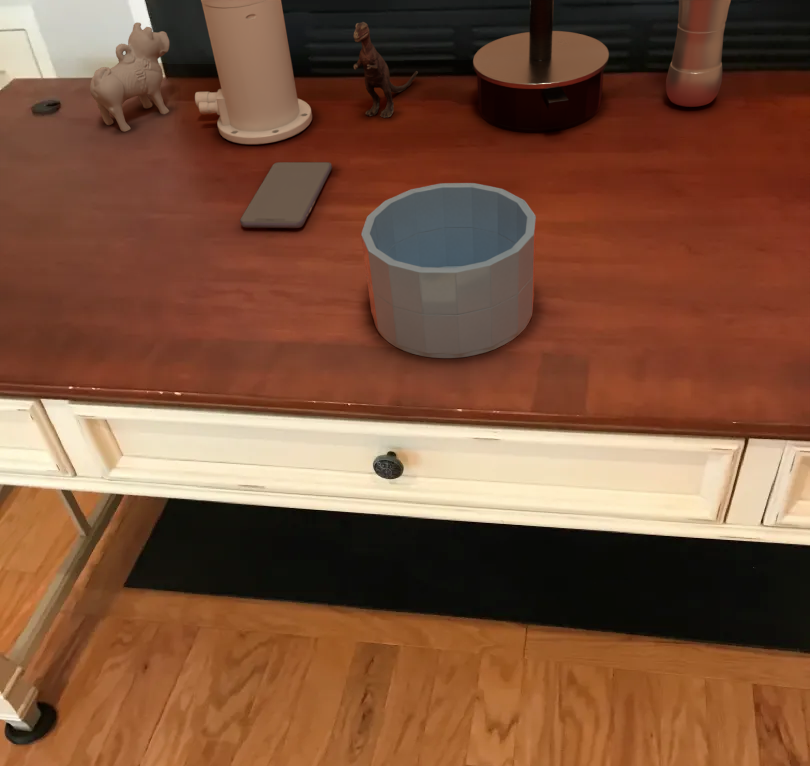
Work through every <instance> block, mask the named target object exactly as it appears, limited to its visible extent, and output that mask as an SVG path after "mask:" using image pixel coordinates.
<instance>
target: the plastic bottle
mask: <svg viewBox="0 0 810 766" xmlns="http://www.w3.org/2000/svg"><path fill="white" fill-rule="evenodd" d="M731 1H732V0H678V15H677V16H678V18H677V22H678V23H677V30H676V38H675V43H674V48H673V53H672V57H671V62H670V64H669V67H668V70H667V75H666V79H665V91H666V92H665V93H666V95H667V97H668V99H669V101H670V102H671V103H672V104H674V105H677V106H680V107H687V108H688V107H689V108H692V107H693V108H694V107H701V106H702V107H703V106H706V105H708V104H711V103H712V102H713V101H714V100H715V98H716V97H717V96H718V95H719V92H720V88H721V86H722V82H723V62H722V59H723V47H724V45H723V44H724V33H725V28H726V22H727V18H728V15H729V14H728V13H729V9H730V5H731Z"/></svg>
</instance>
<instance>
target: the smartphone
mask: <svg viewBox="0 0 810 766" xmlns="http://www.w3.org/2000/svg"><path fill="white" fill-rule="evenodd" d="M332 169H333V165H332V163H331V162H329V161H327V162H326V161H322V162H321V161H320V162H319V161H316V162H315V161H306V162H305V161H303V162H302V161H301V162H300V161H297V162H296V161H292V162H291V161H287V162H286V161H285V162H283V161H278V162H275V163H274V164H272V166H271V167H270V169H269V171H268V172H267V173H266V176H265V177H264V179H263V181H262V183H261V184H260V185H259V188H258V189H257V191H256V192H255V194H254V196H253V197H252V199H251V201H250V202H249V204H248V206H247V207H246V209H245V211H244V212H243V213H242V215H241V217H240V219H239V223H240V225H241V226H242V227H243V228H246V229H247V228H248V229H300V228H302V227H303V226H304V224H305V223H306V221H307V219H308V217H309V215H310V213H311V211H312V209H313V207H314V205H316V204H315V203H316V201H317V199H318V197H319V195H320V194H321V191H322V189H323V186H324V185H325V183H326V181H327V179H328V177H329V175H330V173H331V171H332Z"/></svg>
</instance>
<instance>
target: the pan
mask: <svg viewBox="0 0 810 766" xmlns="http://www.w3.org/2000/svg"><path fill="white" fill-rule="evenodd" d="M604 70H605V68H604V69H603V70H602V71H601V72H599V73H598V74H596V75H595V76H593V77H591V78H589V79H587V80H584V81H581V82H578V83H575V84H571V85H566V86H561V87H555V88H545V89H520V88H511V87H505V86H501V85H497V84H494V83H491V82H488V81H486V80H484V79H483V78H481V77H480V76H479V75H478V74H477V73H476V83H477V84H476V85H477V106H478V111H479V115H480V117H481V118H482V119H483V120H484V121H485V122H486V123H488V124H489V125H492V126H494V127H495V128H499V129H502V130H504V131H505V130H506V131H511V132H516V133H525V134H526V133H527V134H532V133H533V134H537V133H538V134H539V133H551V132H558V131H563V130H568V129H571V128H574V127H577V126H579V125H581V124H583V123H586V122H587V121H589V120H590V119H592V118H593V117H594V116H596V114H597V113H598V112H599V110H600V107H601V102H602V97H603V85H604Z"/></svg>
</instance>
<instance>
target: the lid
mask: <svg viewBox="0 0 810 766" xmlns="http://www.w3.org/2000/svg"><path fill="white" fill-rule="evenodd" d="M554 1H555V0H529V31H528V32H521V33H515V34H511V35H508V36H504V37H501V38H498V39H495V40H493V41H490V42H489V43H487V44H485V45H484V46H482V47H481V48H480V49H478V50H477V52H476V53H475V54H474V56H473V60H472V68H473V70H474V72H475V73H476V75H477V74H478V75H479V76H480V77H481V78H483V79H484V80H486V81H488V82H491V83H494V84H497V85H501V86H505V87H511V88H520V89H545V88H555V87H561V86H566V85H571V84H575V83H578V82H581V81H584V80H587V79H589V78H591V77H593V76H595V75H596V74H598V73H599V72H601V71H602V70H603V69H604V70H605V68H607V65H608V63H609V59H610V58H609V57H610V52H609V49H608V47H607V46H606V45H605V44H604V43H603V42H602V41H600V40H598V39H596V38H594V37H592V36H588V35H586V34H582V33H581V34H580V33H577V32H571V31H561V30H553V29H554V27H553V26H554V5H555V4H554V3H555V2H554Z"/></svg>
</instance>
